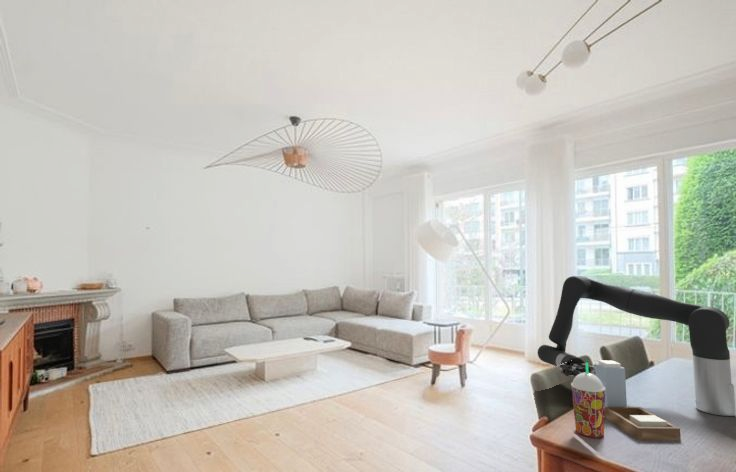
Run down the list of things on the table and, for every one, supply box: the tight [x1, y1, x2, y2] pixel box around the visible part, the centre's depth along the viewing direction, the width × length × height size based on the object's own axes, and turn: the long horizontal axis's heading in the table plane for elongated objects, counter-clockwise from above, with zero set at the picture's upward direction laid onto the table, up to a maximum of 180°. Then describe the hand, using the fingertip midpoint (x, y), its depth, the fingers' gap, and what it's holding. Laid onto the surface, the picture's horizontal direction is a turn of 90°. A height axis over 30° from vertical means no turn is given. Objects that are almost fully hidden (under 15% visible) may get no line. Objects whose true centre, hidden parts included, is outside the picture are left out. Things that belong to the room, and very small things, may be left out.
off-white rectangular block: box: [630, 414, 668, 427], centre depth 108 cm, size 4×7×4 cm, turn 89°
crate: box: [604, 406, 682, 441], centre depth 112 cm, size 16×11×4 cm
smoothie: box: [570, 362, 605, 439], centre depth 109 cm, size 8×8×20 cm
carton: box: [594, 359, 628, 407], centre depth 125 cm, size 6×6×16 cm
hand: (593, 376), depth 135 cm, fingers open, 8 cm apart
